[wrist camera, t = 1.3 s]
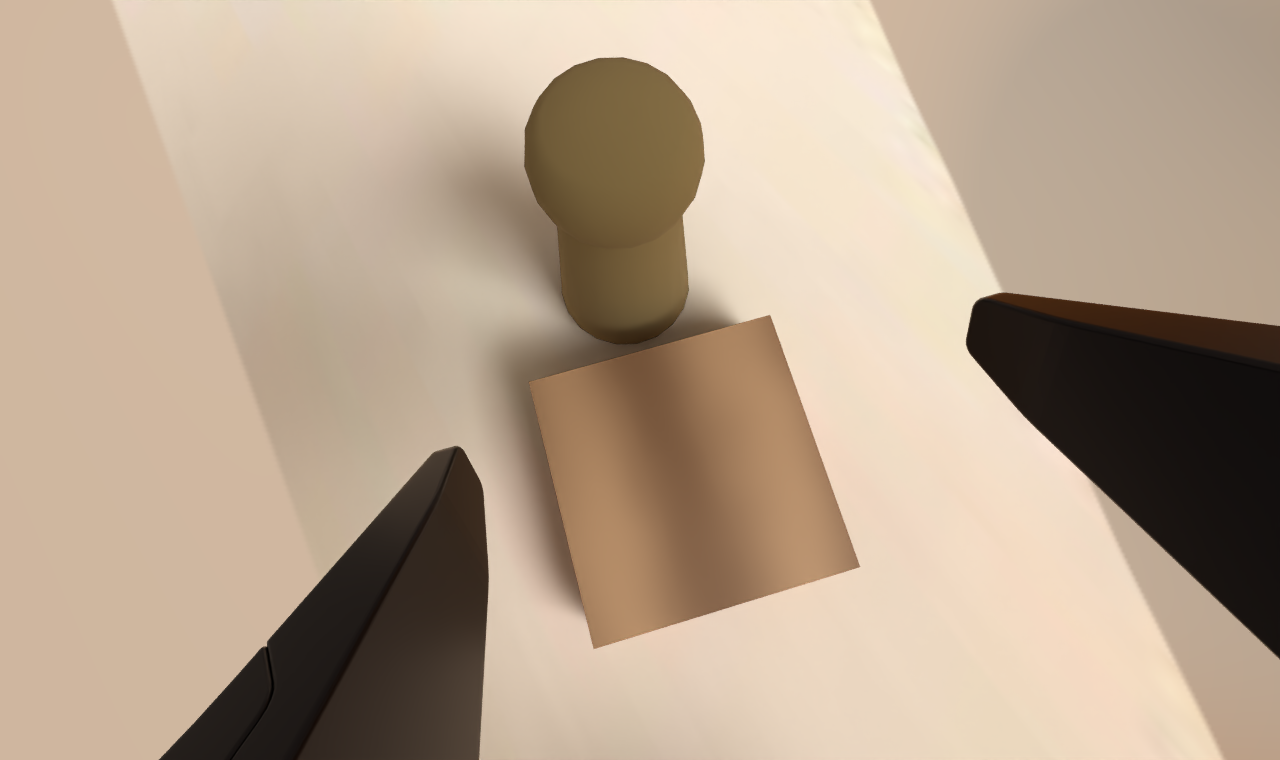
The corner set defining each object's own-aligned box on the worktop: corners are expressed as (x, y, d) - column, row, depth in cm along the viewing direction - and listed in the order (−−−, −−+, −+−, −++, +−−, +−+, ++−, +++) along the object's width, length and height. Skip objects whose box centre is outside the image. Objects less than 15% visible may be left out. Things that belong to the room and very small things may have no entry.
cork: (656, 365, 23) (669, 258, 12) (539, 312, 23) (450, 164, 12) (709, 254, 24) (764, 65, 13) (595, 206, 24) (559, -14, 14)
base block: (753, 336, 23) (769, 315, 20) (829, 555, 21) (860, 567, 18) (543, 395, 22) (528, 382, 19) (600, 625, 20) (593, 649, 17)
